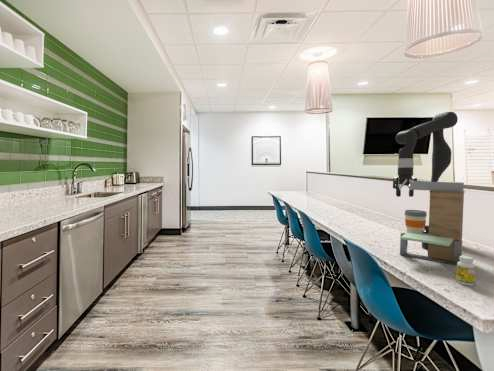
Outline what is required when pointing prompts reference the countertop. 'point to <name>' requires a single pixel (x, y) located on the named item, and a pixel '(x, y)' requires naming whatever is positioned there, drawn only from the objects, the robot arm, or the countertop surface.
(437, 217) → the walnut pedestal
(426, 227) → the supplement bottle
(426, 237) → the trapdoor
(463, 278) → the supplement bottle
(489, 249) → the countertop surface
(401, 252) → the trapdoor frame
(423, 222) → the reusable coffee cup
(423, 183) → the slate bar
